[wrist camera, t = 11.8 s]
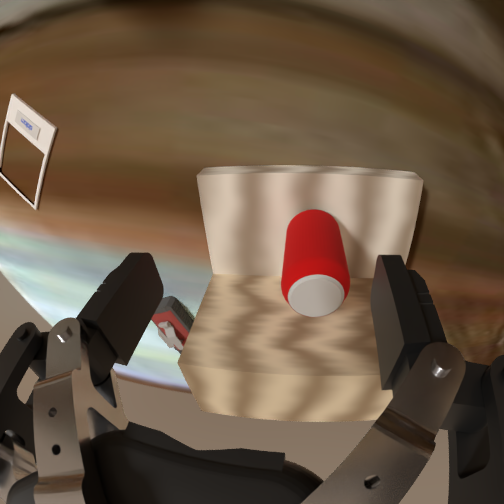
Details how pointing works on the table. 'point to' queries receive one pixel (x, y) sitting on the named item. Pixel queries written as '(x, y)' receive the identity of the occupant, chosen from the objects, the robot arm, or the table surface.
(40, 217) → the table surface
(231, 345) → the counter stand
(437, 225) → the table surface
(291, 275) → the beverage can
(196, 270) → the table surface
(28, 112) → the photo frame
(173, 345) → the walkie-talkie
